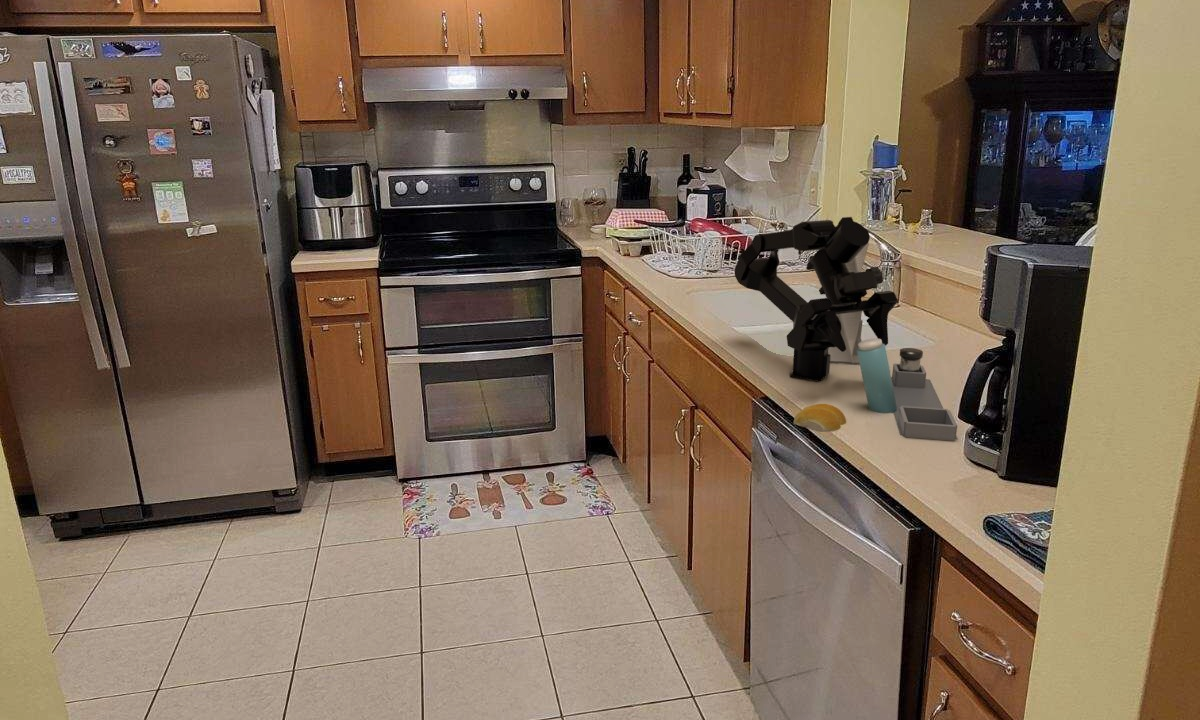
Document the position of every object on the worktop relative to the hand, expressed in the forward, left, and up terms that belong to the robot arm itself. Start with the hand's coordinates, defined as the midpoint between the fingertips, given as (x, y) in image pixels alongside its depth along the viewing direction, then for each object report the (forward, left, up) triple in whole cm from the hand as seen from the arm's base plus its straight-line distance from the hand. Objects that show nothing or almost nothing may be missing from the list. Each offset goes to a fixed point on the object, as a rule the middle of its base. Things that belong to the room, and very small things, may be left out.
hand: (865, 347), depth 153 cm
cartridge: (+5, -4, -10) cm, 12 cm away
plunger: (+6, +12, -9) cm, 16 cm away
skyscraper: (-10, +24, -11) cm, 28 cm away
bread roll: (-3, -16, -11) cm, 20 cm away
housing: (+10, +1, -11) cm, 14 cm away
